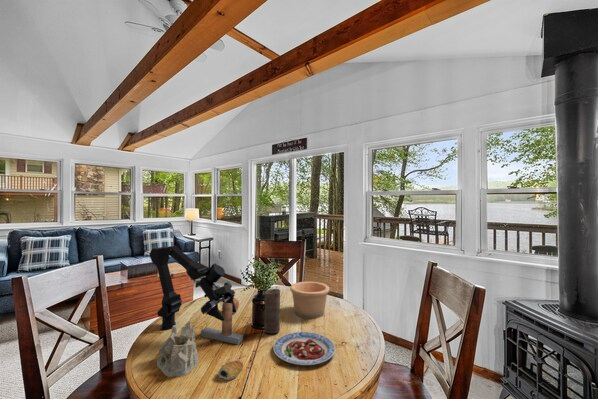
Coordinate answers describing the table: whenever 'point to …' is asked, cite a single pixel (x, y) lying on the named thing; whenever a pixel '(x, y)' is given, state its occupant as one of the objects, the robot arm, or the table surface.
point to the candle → (272, 311)
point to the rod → (227, 319)
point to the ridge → (218, 336)
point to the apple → (235, 304)
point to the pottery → (309, 299)
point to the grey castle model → (178, 352)
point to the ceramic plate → (304, 348)
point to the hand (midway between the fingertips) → (229, 316)
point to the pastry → (230, 370)
